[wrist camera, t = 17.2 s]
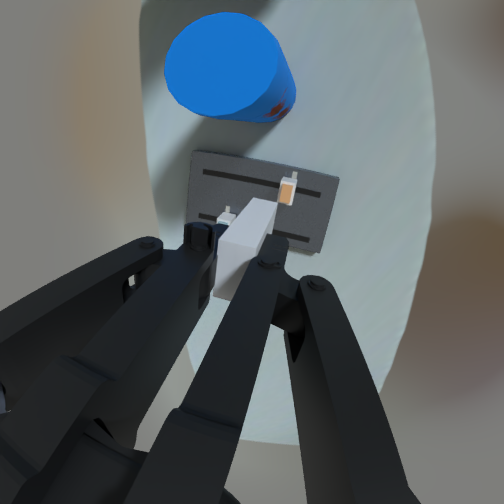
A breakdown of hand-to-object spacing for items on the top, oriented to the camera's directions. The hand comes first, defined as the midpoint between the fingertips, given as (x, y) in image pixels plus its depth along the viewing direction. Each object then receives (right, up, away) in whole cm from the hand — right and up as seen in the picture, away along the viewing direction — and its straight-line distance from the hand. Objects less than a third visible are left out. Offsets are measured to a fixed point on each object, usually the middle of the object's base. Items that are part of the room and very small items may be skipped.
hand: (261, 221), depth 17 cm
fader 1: (-5, +4, +34) cm, 34 cm away
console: (+1, +8, +33) cm, 34 cm away
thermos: (+2, +25, +25) cm, 35 cm away
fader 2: (+6, +9, +29) cm, 31 cm away
